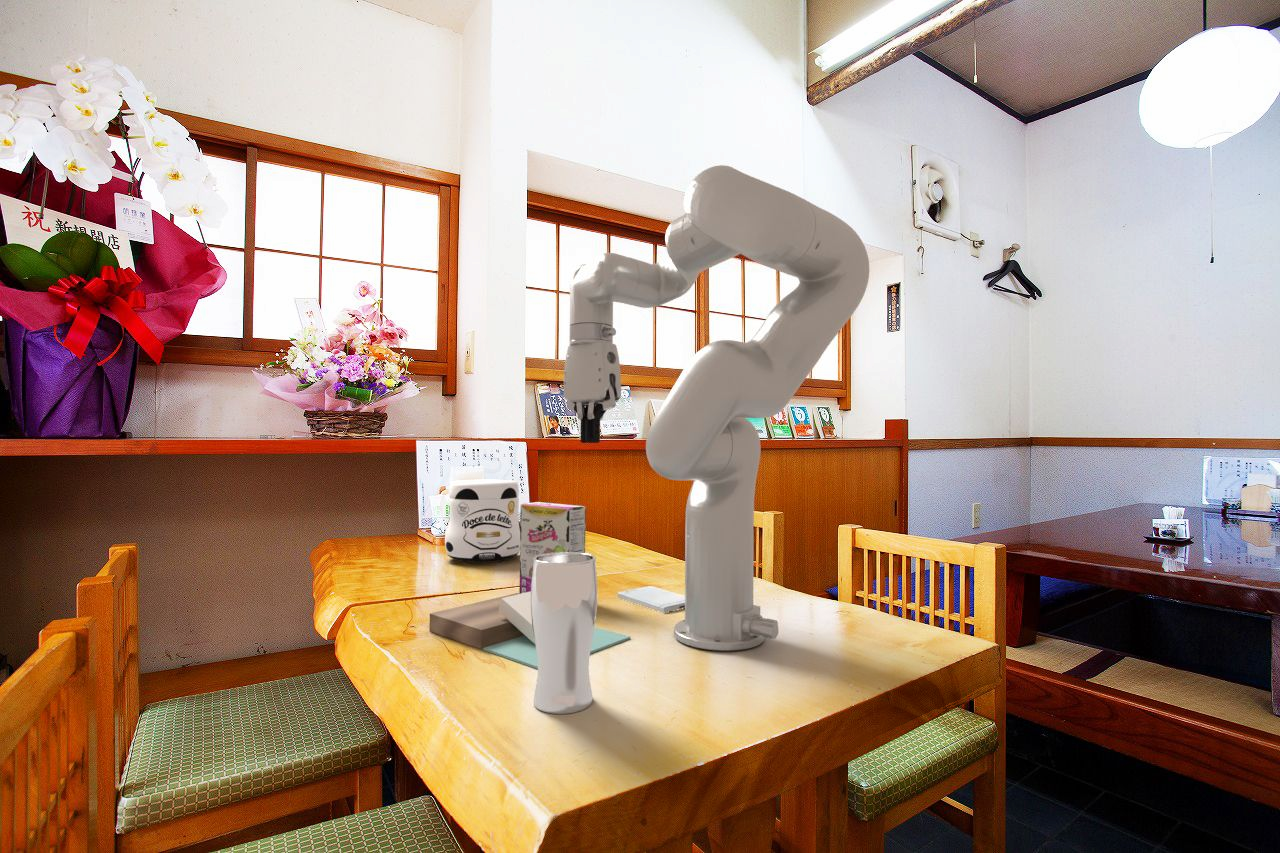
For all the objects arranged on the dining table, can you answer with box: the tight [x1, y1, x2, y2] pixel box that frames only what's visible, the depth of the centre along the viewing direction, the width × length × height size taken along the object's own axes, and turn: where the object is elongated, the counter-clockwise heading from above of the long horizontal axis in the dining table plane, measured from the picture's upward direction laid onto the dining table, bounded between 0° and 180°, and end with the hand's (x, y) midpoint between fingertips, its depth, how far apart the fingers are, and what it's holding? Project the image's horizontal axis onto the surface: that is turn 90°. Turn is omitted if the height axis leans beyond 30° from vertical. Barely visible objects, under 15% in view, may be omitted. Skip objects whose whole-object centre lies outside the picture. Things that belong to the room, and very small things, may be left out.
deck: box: [429, 592, 524, 650], centre depth 90 cm, size 12×16×2 cm
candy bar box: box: [518, 501, 587, 594], centre depth 106 cm, size 11×5×16 cm, turn 58°
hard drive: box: [616, 585, 685, 614], centre depth 105 cm, size 2×8×12 cm
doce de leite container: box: [444, 479, 520, 563], centre depth 142 cm, size 17×17×18 cm
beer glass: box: [531, 552, 599, 715], centre depth 64 cm, size 7×7×15 cm
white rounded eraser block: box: [498, 591, 535, 644], centre depth 85 cm, size 9×6×2 cm, turn 50°
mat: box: [482, 626, 631, 670], centre depth 82 cm, size 12×16×1 cm
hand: (590, 442), depth 107 cm, fingers closed
